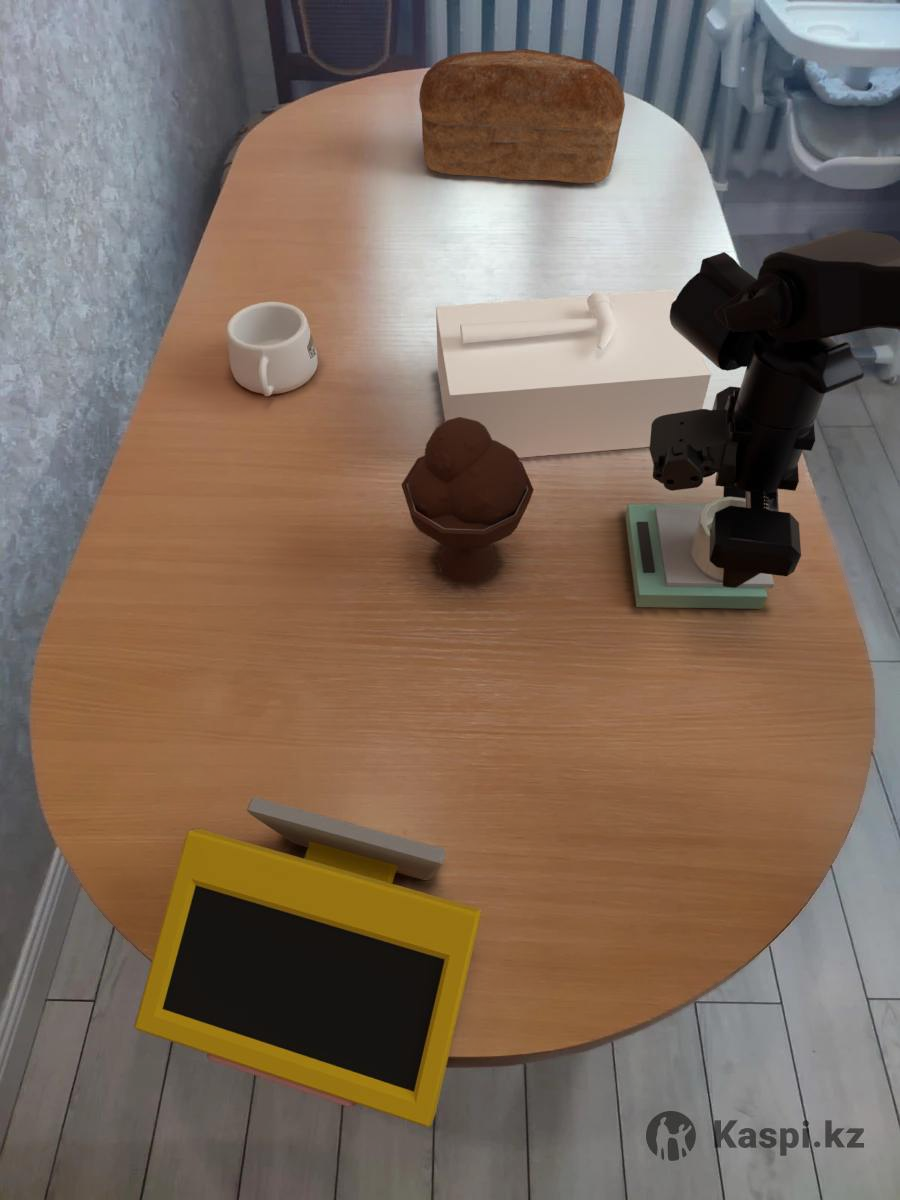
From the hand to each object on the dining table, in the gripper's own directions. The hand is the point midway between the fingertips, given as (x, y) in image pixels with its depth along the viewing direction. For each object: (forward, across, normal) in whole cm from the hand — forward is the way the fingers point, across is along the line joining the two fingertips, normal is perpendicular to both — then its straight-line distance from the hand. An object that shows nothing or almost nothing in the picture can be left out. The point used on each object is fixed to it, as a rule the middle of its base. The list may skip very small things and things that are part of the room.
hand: (728, 545), depth 78 cm
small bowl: (+2, 0, 0) cm, 2 cm away
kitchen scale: (+4, -1, -3) cm, 5 cm away
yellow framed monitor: (0, +32, -25) cm, 40 cm away
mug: (+4, -21, -49) cm, 53 cm away
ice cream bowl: (+4, +2, -23) cm, 23 cm away
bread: (+4, -73, -29) cm, 78 cm away
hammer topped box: (+4, -21, -17) cm, 27 cm away
